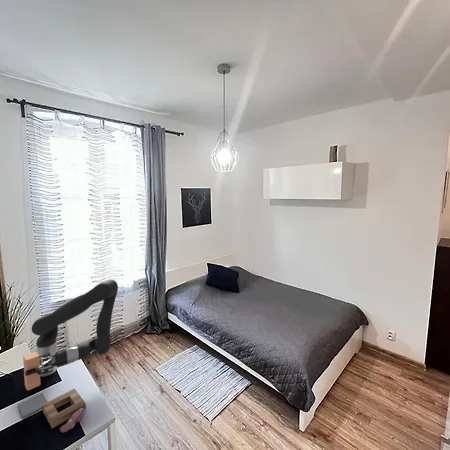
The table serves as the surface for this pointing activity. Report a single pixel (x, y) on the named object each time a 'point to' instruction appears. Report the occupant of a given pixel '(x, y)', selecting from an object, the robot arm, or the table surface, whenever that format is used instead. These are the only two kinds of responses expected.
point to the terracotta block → (30, 363)
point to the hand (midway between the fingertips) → (25, 369)
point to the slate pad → (32, 405)
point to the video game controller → (73, 420)
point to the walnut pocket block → (58, 418)
